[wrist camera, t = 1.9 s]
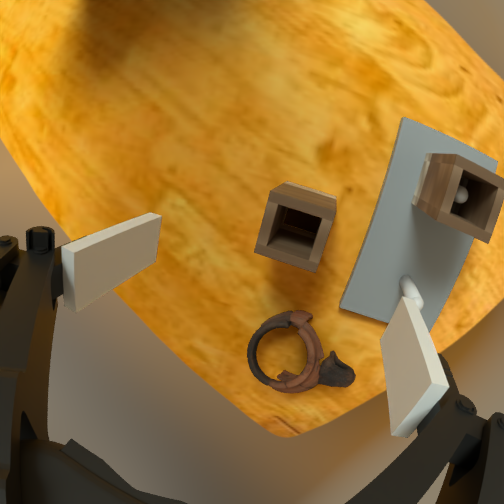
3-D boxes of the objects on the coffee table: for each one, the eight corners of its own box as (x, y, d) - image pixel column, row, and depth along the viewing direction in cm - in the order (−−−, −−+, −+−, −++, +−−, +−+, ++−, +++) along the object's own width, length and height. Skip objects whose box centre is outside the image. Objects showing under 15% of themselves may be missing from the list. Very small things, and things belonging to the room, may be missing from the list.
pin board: (401, 118, 25) (419, 108, 18) (493, 161, 23) (527, 165, 17) (339, 302, 32) (338, 337, 26) (425, 329, 30) (439, 366, 24)
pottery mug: (262, 371, 38) (230, 382, 31) (280, 302, 39) (252, 299, 32) (350, 399, 33) (337, 421, 26) (372, 325, 34) (366, 328, 26)
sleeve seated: (426, 153, 24) (456, 154, 17) (469, 172, 23) (508, 181, 16) (411, 202, 26) (436, 220, 19) (454, 220, 25) (488, 243, 18)
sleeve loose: (287, 181, 30) (270, 190, 22) (336, 196, 29) (336, 211, 22) (274, 228, 32) (253, 252, 24) (321, 243, 31) (315, 273, 23)
